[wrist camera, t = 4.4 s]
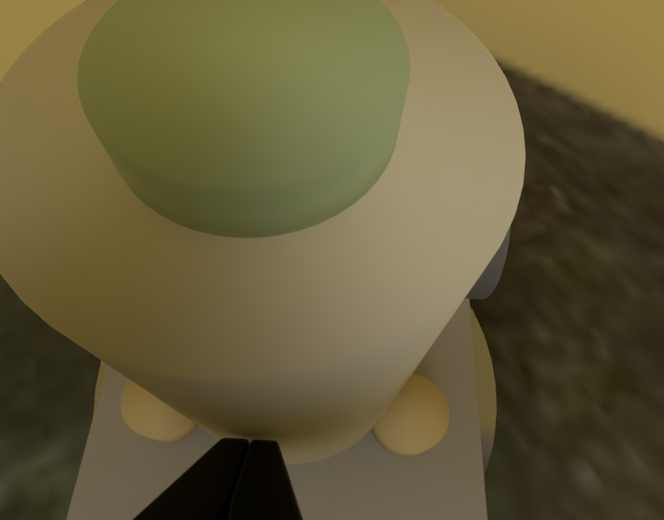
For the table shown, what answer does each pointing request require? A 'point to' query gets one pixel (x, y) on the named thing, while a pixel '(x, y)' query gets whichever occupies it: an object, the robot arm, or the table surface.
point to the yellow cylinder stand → (266, 239)
